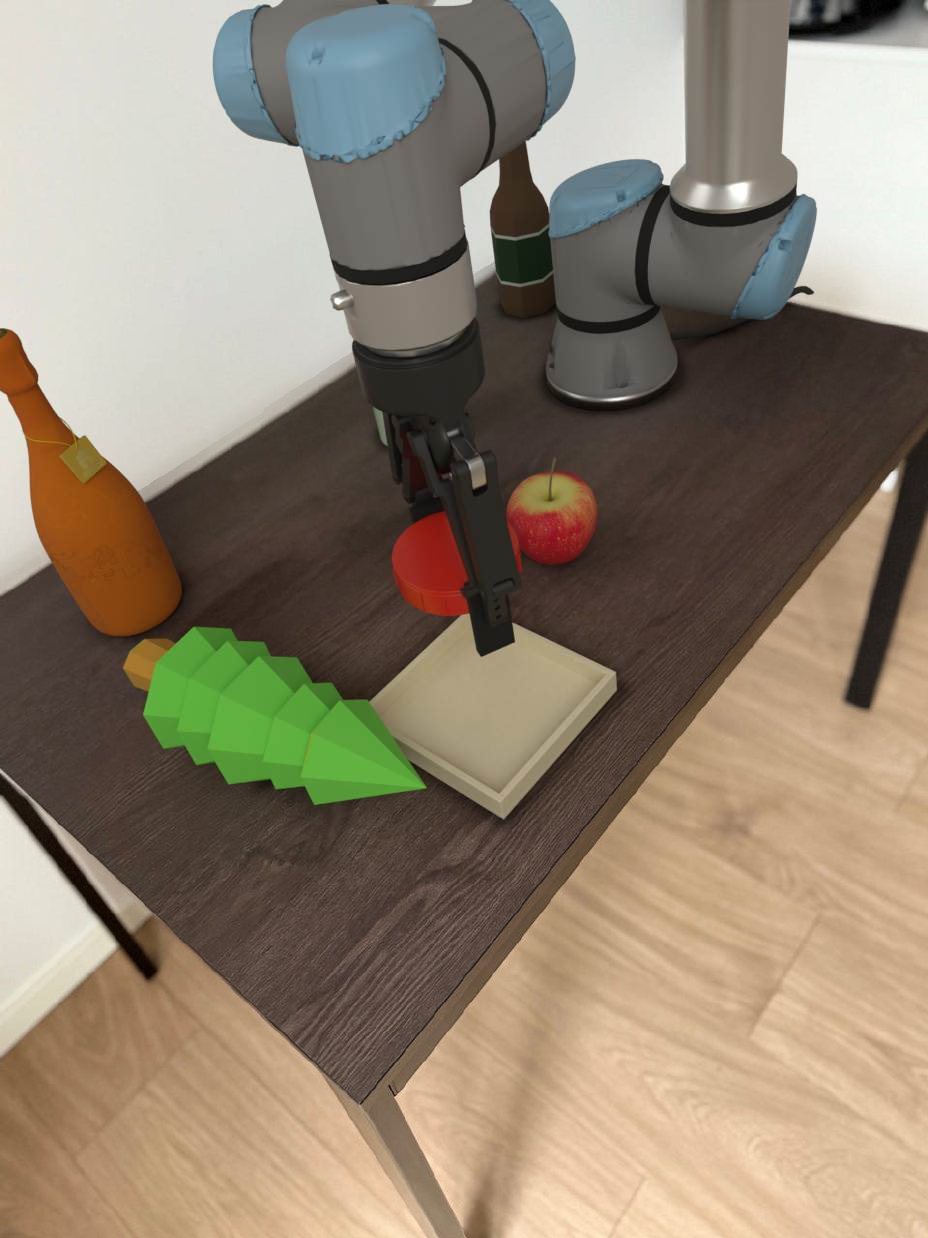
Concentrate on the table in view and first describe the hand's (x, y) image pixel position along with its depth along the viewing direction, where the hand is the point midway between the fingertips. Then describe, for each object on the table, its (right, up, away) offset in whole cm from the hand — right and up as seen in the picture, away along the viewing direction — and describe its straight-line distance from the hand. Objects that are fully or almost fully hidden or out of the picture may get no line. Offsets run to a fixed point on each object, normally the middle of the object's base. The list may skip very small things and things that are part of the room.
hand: (467, 606), depth 71 cm
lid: (-1, +4, -4) cm, 5 cm away
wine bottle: (-33, 0, +25) cm, 41 cm away
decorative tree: (-15, -13, +8) cm, 21 cm away
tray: (+2, -9, +9) cm, 12 cm away
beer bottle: (+8, +41, +58) cm, 72 cm away
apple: (+9, +5, +22) cm, 24 cm away
